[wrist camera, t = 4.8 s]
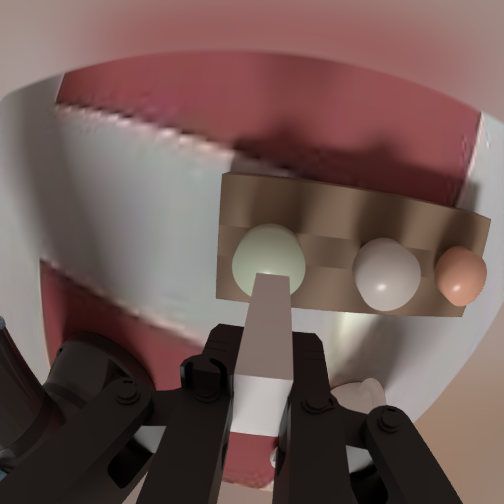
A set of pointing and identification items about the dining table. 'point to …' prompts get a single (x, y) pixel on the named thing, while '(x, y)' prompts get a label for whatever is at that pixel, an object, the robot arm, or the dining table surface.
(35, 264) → the dining table surface
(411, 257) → the grey egg
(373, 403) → the mug
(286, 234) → the sage egg
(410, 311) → the cardboard egg tray
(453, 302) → the orange egg
